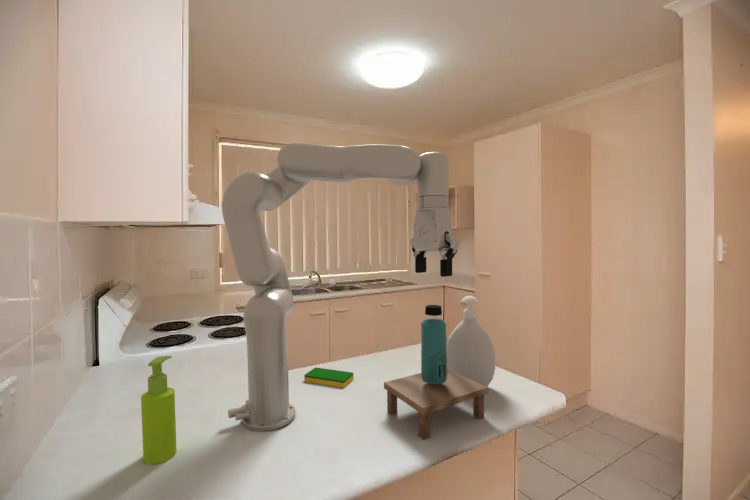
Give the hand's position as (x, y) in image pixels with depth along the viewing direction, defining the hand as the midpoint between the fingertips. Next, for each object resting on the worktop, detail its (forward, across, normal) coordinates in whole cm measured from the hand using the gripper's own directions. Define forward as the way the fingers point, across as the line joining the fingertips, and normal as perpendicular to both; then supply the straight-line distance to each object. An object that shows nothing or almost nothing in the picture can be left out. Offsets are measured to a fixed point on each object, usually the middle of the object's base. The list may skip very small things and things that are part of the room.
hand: (432, 274), depth 89 cm
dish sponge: (+36, -34, -14) cm, 51 cm away
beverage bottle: (+28, 0, 0) cm, 28 cm away
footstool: (+35, 0, 0) cm, 35 cm away
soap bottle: (+35, -8, +20) cm, 41 cm away
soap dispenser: (+36, -16, -59) cm, 71 cm away
